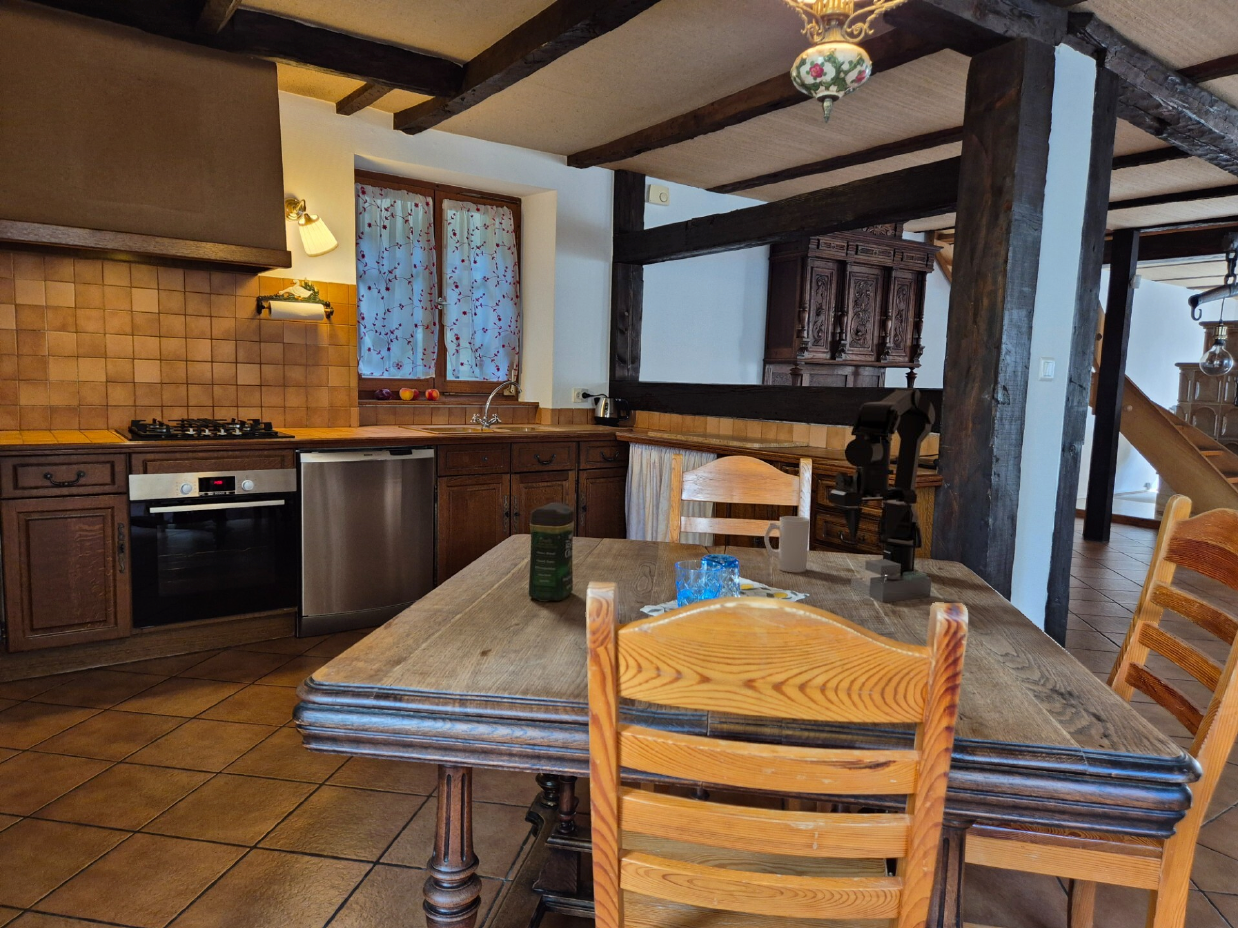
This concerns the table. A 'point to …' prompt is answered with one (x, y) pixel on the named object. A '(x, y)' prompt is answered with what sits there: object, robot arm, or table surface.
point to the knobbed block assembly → (895, 586)
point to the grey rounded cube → (880, 568)
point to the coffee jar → (551, 552)
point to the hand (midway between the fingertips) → (871, 537)
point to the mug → (790, 543)
